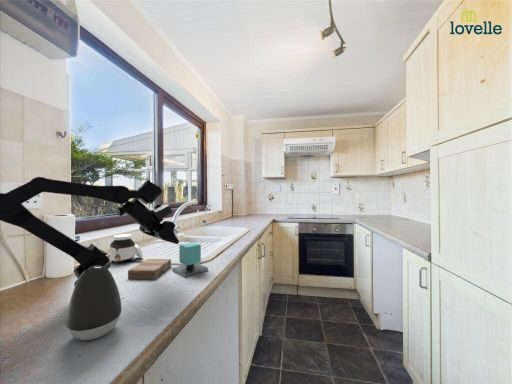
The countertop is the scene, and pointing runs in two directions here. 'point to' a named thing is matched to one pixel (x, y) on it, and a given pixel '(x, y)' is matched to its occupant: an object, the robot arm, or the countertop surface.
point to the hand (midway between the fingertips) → (172, 241)
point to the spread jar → (124, 249)
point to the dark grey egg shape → (94, 304)
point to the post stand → (189, 269)
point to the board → (149, 269)
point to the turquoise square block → (189, 253)
